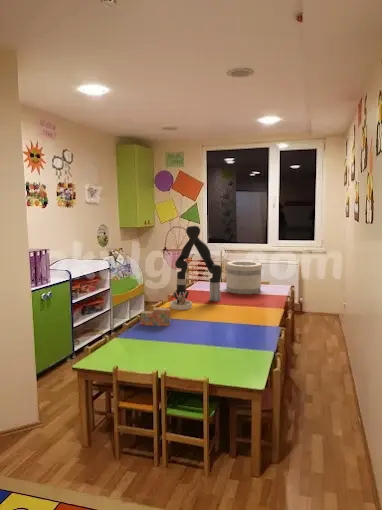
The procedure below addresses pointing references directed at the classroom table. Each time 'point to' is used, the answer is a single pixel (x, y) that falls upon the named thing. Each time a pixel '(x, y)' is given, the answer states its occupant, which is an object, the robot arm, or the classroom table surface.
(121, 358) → the classroom table surface
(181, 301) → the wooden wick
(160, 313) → the stack of blocks
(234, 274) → the storage basket
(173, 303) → the grey ring
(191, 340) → the classroom table surface
